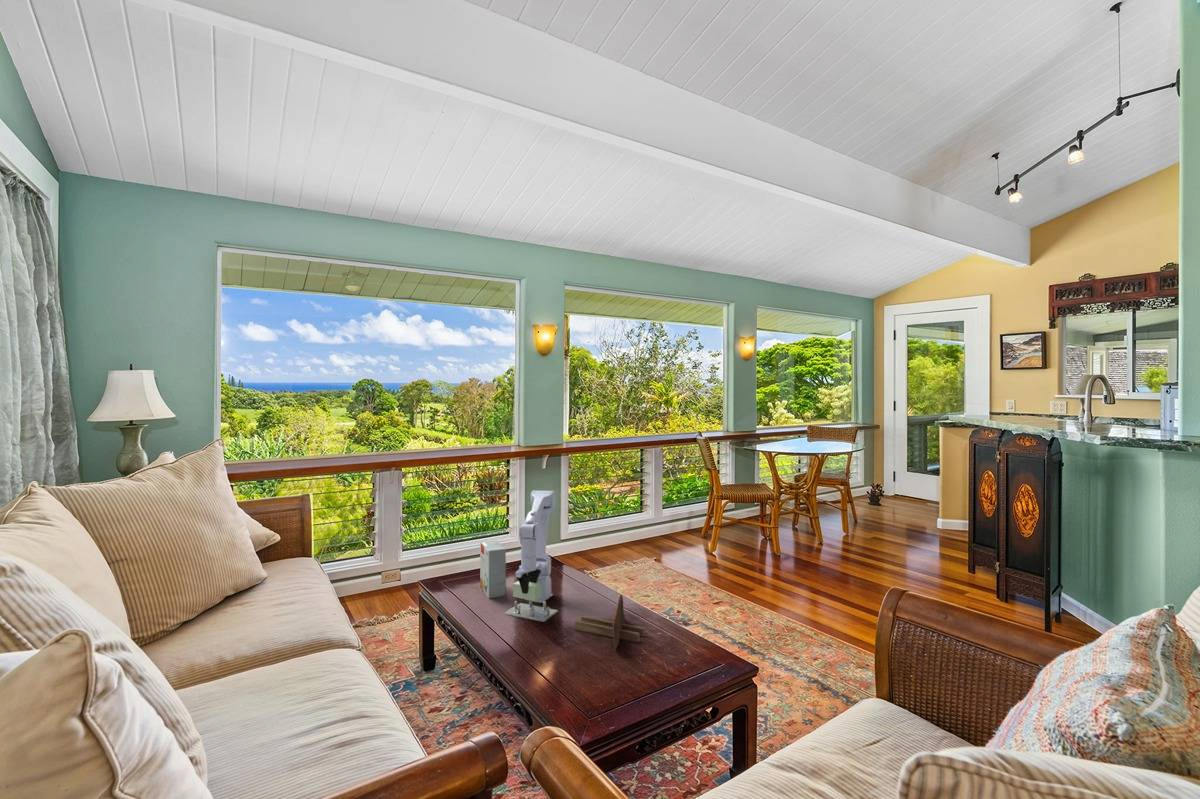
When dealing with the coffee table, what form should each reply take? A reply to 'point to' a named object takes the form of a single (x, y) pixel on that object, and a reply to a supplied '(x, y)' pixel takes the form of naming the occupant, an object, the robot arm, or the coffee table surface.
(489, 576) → the hard drive box
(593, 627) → the tablet cradle
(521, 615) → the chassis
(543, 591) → the robot arm
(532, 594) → the pale green block
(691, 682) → the coffee table surface
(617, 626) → the wooden tablet
